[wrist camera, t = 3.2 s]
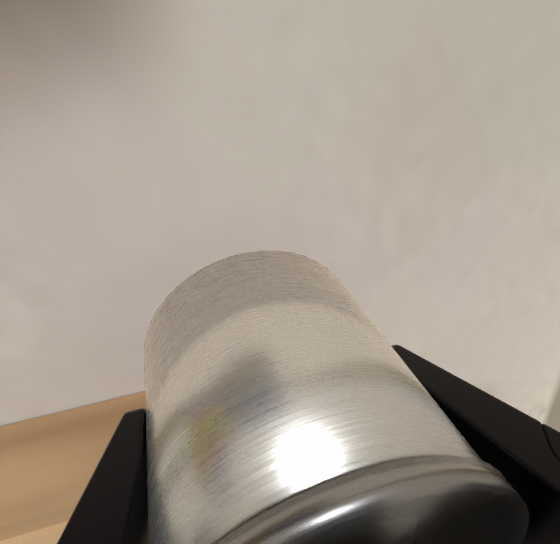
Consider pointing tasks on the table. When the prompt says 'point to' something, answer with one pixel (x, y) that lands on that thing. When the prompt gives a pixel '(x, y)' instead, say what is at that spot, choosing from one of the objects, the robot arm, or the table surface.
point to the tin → (301, 422)
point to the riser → (53, 467)
